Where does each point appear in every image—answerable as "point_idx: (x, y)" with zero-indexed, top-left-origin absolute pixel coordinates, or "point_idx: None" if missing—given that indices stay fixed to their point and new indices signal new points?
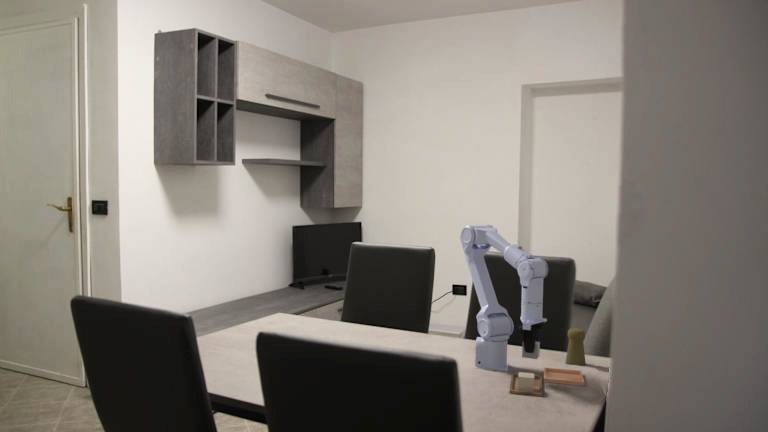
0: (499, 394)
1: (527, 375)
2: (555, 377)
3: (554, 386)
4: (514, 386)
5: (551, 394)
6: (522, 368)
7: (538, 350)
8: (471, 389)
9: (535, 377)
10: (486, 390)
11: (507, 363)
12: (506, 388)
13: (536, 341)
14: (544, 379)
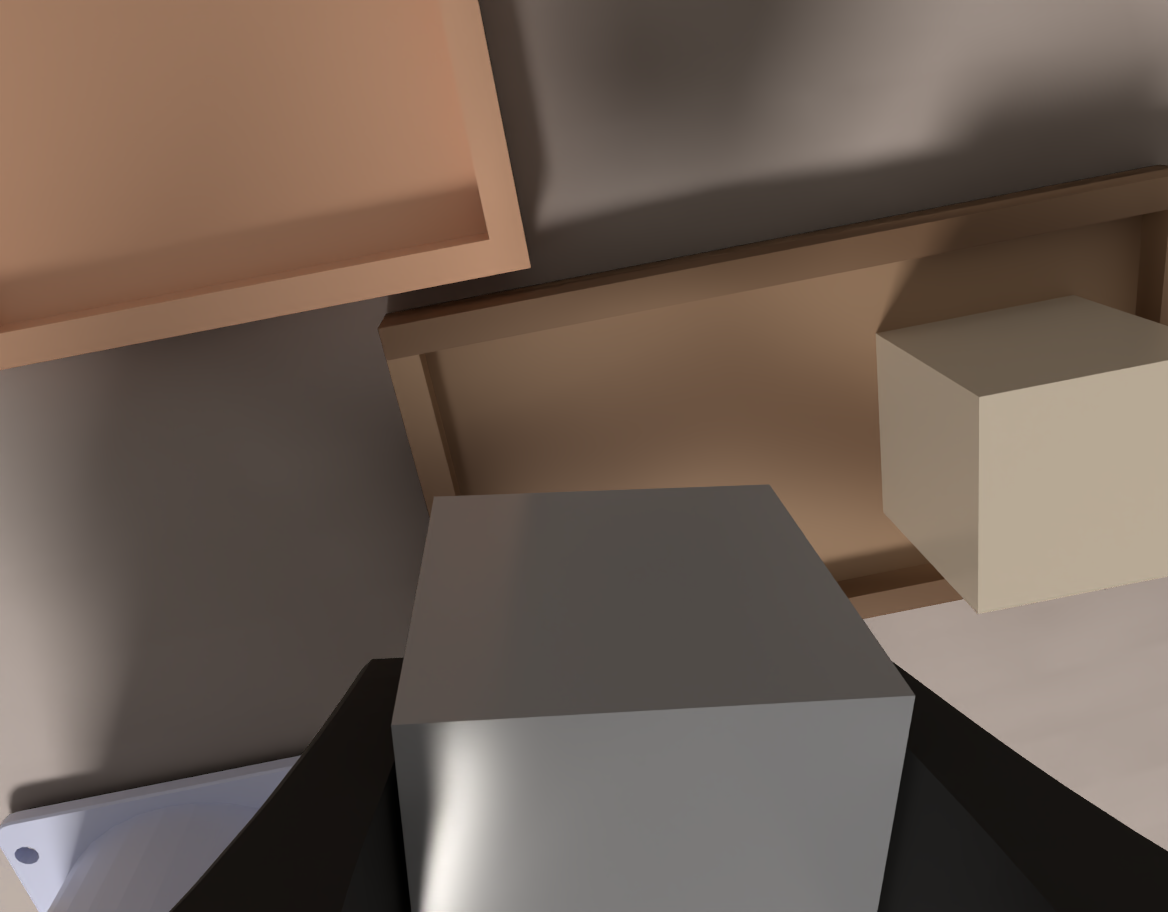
0: (1125, 621)
1: (1116, 468)
2: (202, 123)
3: (574, 83)
4: (889, 552)
5: (949, 71)
6: (11, 642)
7: (607, 570)
8: None
9: (432, 402)
10: (1039, 750)
11: (14, 834)
12: (910, 611)
13: (464, 806)
14: (528, 257)
